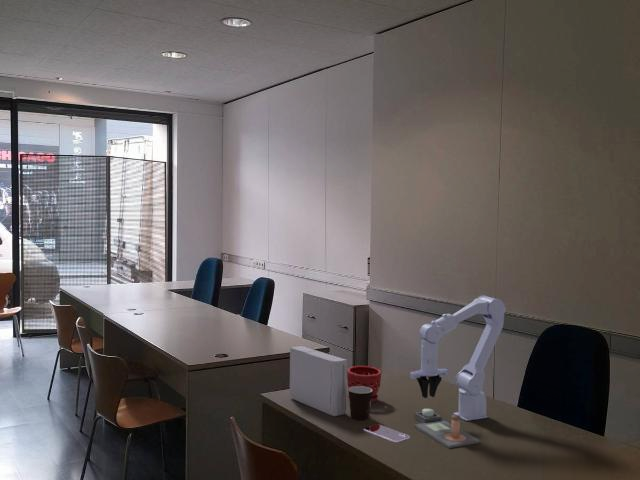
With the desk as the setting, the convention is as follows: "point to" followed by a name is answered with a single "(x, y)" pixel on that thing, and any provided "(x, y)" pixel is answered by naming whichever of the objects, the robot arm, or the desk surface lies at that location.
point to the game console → (318, 380)
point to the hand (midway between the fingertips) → (428, 396)
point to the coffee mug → (360, 402)
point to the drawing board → (446, 434)
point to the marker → (455, 426)
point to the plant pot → (365, 379)
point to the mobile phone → (386, 433)
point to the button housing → (422, 419)
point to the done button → (428, 413)
